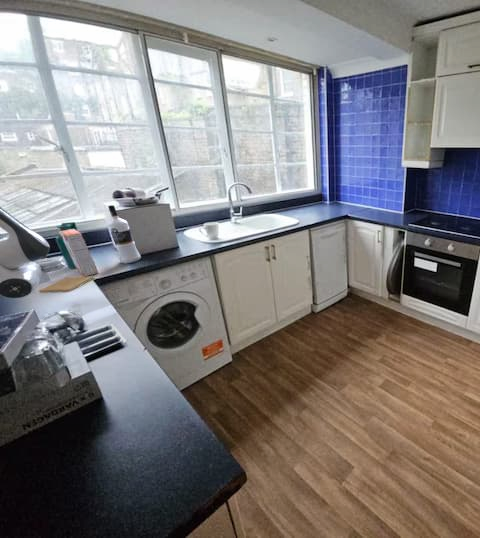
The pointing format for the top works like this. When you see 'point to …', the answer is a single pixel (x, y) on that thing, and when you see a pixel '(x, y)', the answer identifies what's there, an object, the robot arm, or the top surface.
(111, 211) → the vodka
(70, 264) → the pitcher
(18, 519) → the top surface
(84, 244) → the cracker box
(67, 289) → the cork mat
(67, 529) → the top surface
